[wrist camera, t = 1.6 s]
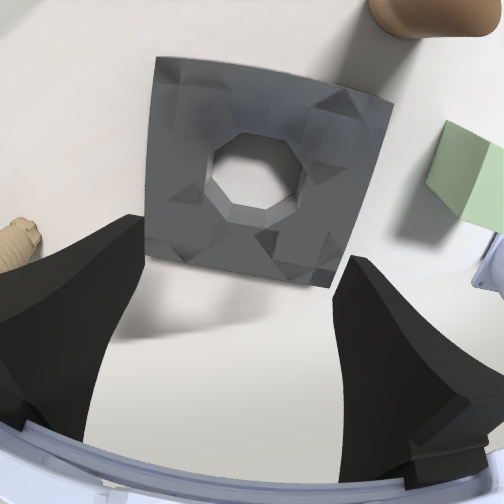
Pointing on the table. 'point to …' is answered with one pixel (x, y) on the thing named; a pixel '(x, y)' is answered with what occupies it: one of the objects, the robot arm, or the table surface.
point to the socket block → (269, 125)
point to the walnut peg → (436, 17)
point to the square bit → (469, 177)
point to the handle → (17, 244)
